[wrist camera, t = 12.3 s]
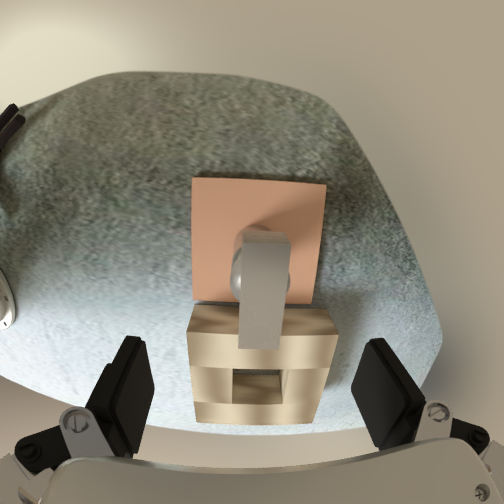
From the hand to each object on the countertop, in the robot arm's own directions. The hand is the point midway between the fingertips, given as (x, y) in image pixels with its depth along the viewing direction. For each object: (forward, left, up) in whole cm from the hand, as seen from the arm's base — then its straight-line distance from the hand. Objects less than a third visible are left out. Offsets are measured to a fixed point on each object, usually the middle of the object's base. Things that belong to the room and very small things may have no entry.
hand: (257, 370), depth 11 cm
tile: (+1, 0, -17) cm, 17 cm away
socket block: (+2, -14, -17) cm, 22 cm away
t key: (+1, 0, -16) cm, 16 cm away
